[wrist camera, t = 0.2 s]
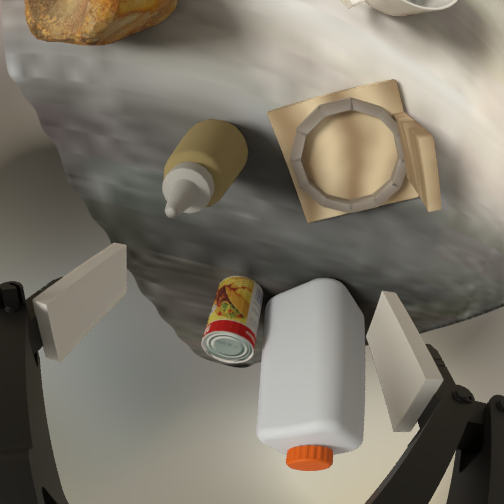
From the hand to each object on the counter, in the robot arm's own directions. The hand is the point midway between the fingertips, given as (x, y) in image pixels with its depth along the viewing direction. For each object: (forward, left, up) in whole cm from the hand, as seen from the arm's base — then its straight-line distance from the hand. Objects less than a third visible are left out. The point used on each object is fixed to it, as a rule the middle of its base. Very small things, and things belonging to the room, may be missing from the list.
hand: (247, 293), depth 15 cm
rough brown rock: (+3, -32, -28) cm, 43 cm away
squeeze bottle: (+7, -4, -28) cm, 29 cm away
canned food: (+23, +17, -28) cm, 40 cm away
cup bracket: (-5, +7, -28) cm, 29 cm away
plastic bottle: (+15, +28, -28) cm, 43 cm away
